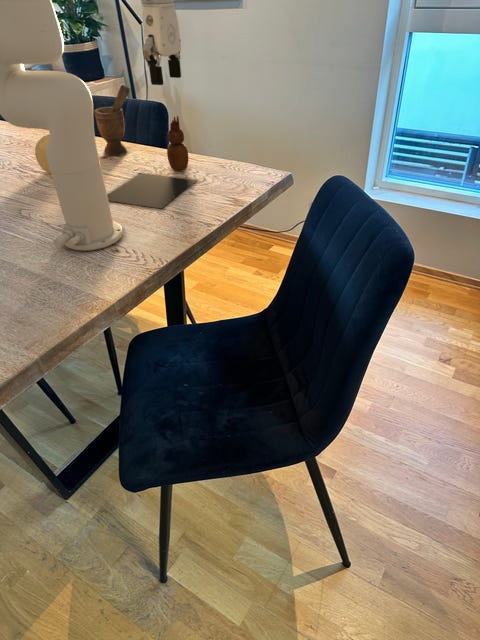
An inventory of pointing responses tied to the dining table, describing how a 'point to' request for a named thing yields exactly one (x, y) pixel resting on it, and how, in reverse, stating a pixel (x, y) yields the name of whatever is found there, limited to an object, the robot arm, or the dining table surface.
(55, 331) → the dining table surface
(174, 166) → the wooden figurine
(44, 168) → the sculpture
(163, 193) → the mat
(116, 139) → the mortar and pestle
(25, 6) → the robot arm
